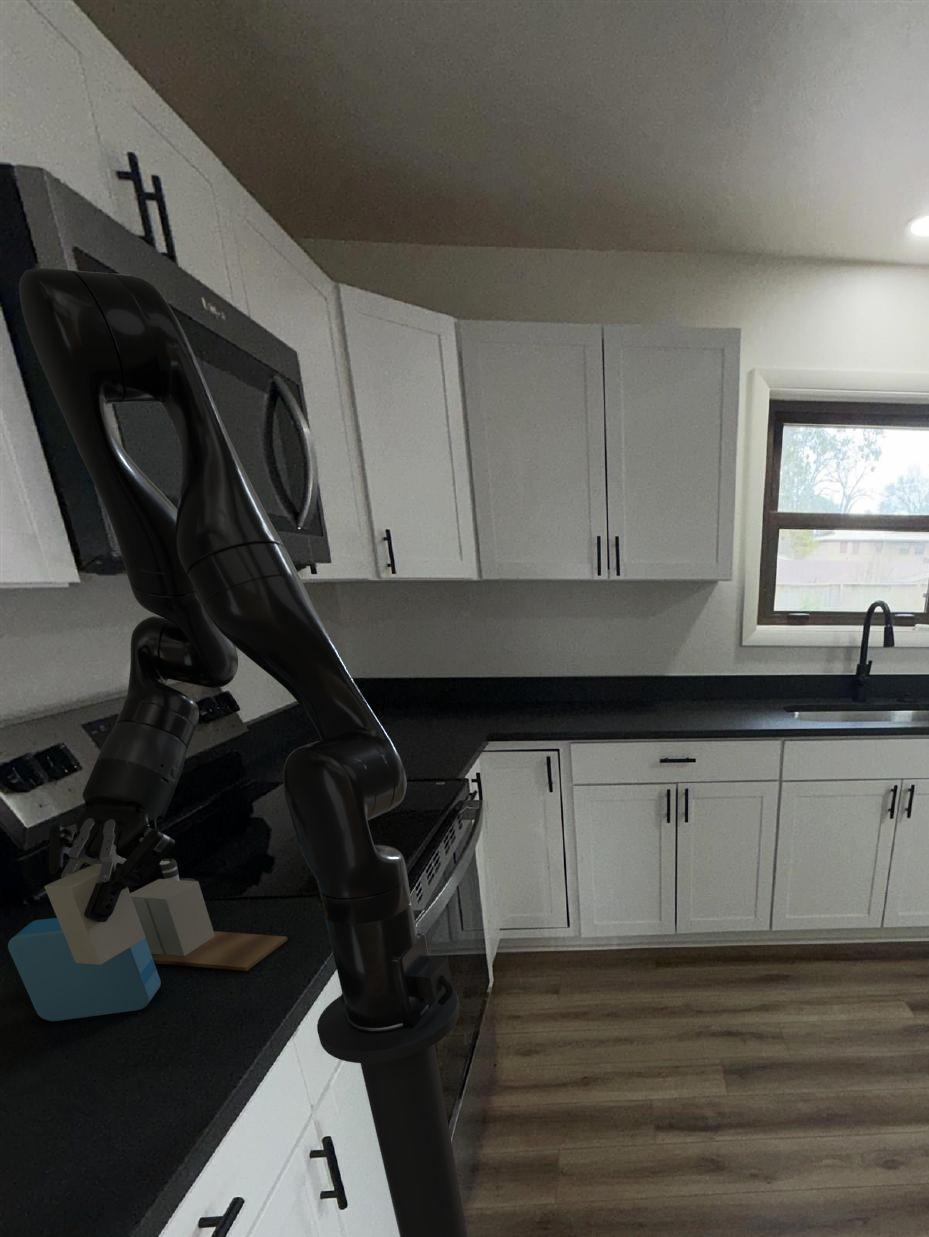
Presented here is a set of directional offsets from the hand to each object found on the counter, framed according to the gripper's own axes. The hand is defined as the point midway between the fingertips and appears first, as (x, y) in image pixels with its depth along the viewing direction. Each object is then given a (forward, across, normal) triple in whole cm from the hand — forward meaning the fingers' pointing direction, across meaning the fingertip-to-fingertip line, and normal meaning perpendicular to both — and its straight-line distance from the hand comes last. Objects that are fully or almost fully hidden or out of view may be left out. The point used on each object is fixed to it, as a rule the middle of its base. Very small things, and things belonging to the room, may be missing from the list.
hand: (79, 918), depth 74 cm
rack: (-4, -9, +29) cm, 30 cm away
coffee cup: (-17, -32, +42) cm, 56 cm away
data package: (+7, -12, +18) cm, 23 cm away
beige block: (+2, 0, +5) cm, 5 cm away
